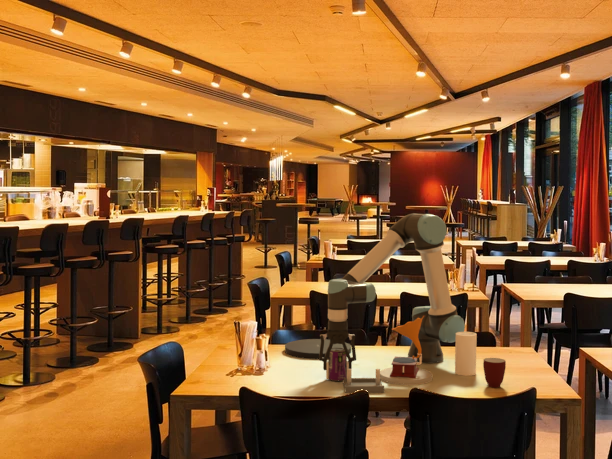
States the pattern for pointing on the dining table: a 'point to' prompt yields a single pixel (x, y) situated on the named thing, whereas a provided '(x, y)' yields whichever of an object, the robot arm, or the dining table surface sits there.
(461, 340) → the white cylinder
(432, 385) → the dining table surface
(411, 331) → the gramophone
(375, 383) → the cradle tray
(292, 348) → the disc
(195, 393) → the dining table surface
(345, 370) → the beverage can
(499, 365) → the mug
